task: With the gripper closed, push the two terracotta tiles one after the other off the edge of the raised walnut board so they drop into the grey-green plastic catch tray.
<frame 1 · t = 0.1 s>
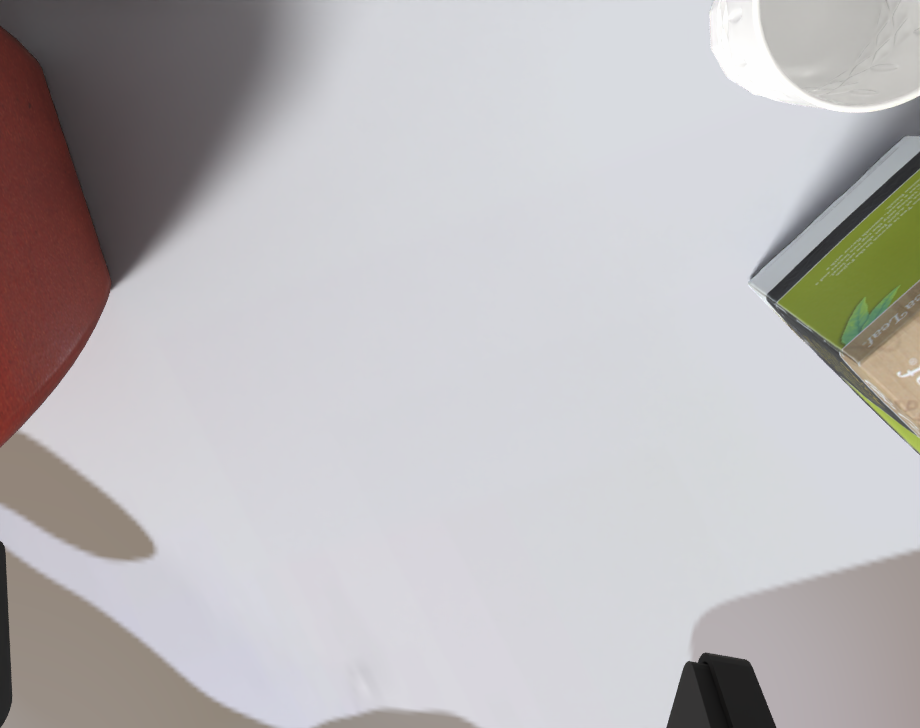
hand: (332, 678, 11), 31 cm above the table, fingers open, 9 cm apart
tea box: (917, 308, 39), on the table
white cup: (782, 19, 36), on the table
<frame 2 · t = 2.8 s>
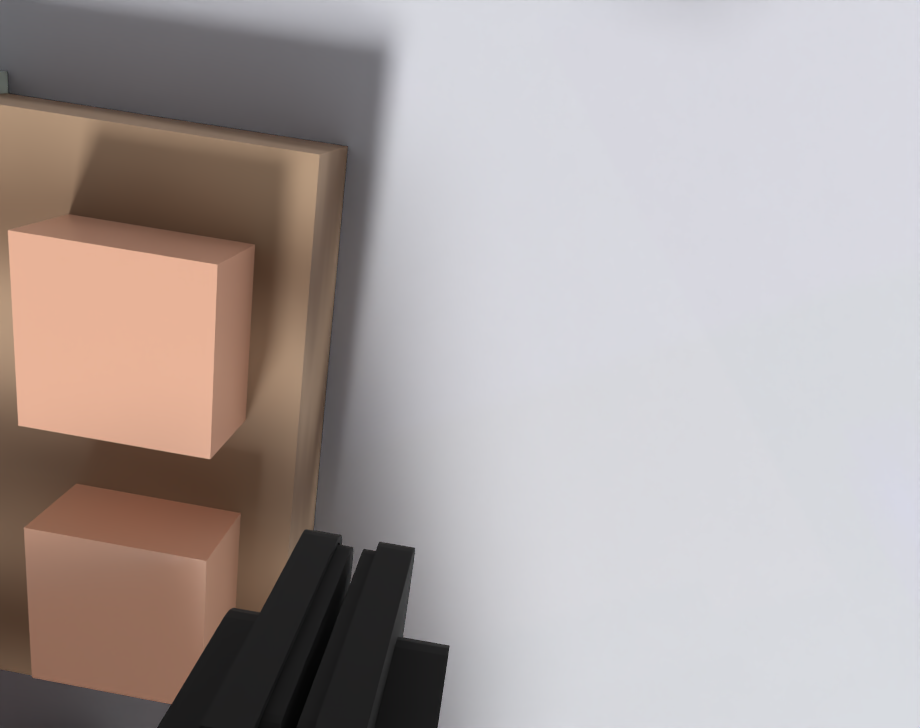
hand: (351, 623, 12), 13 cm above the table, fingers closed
tile b: (157, 569, 24), point 3 cm above the table, touching board
board: (171, 407, 26), on the table
tile a: (160, 320, 21), point 3 cm above the table, touching board
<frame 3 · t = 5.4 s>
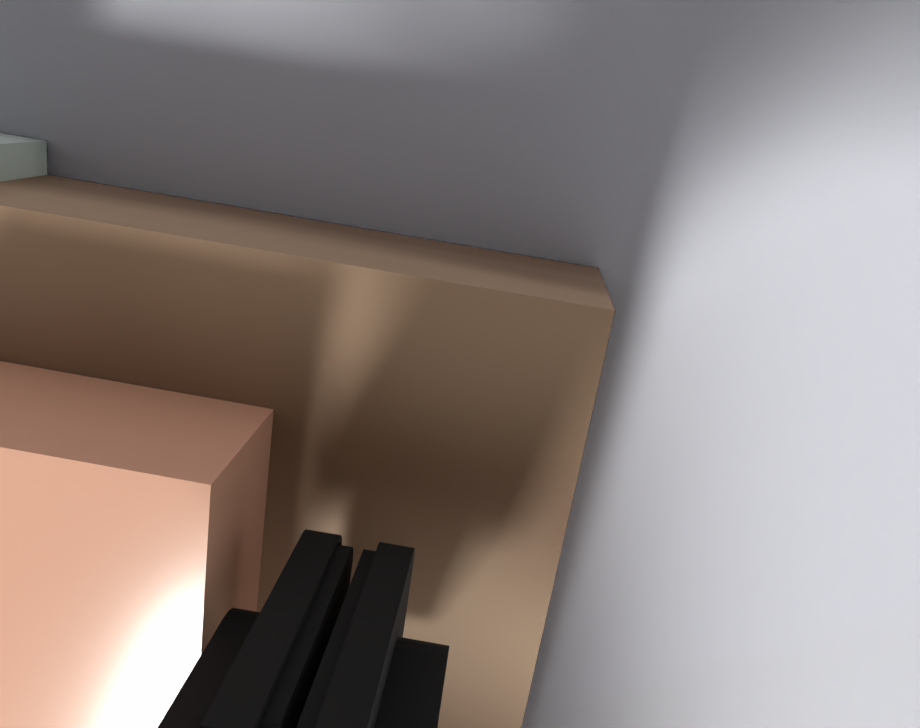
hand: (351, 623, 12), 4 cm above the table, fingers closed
board: (279, 638, 17), on the table
tile a: (111, 523, 13), point 3 cm above the table
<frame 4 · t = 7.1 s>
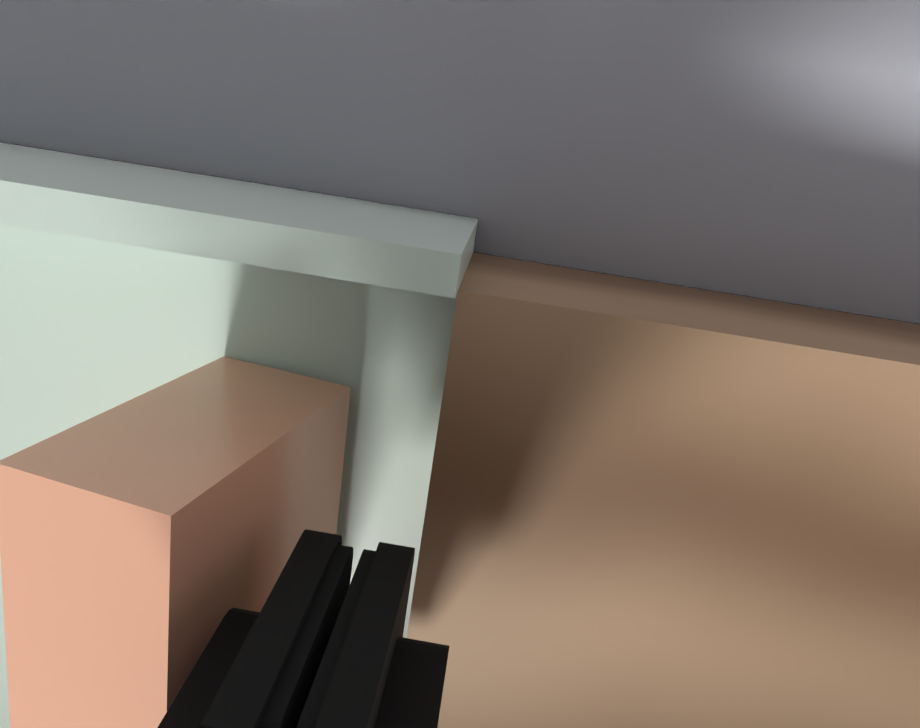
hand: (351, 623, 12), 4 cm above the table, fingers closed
tray: (135, 618, 17), on the table
board: (643, 710, 17), on the table
tile a: (268, 585, 12), point 4 cm above the table, tilted 102°, touching gripper, tray
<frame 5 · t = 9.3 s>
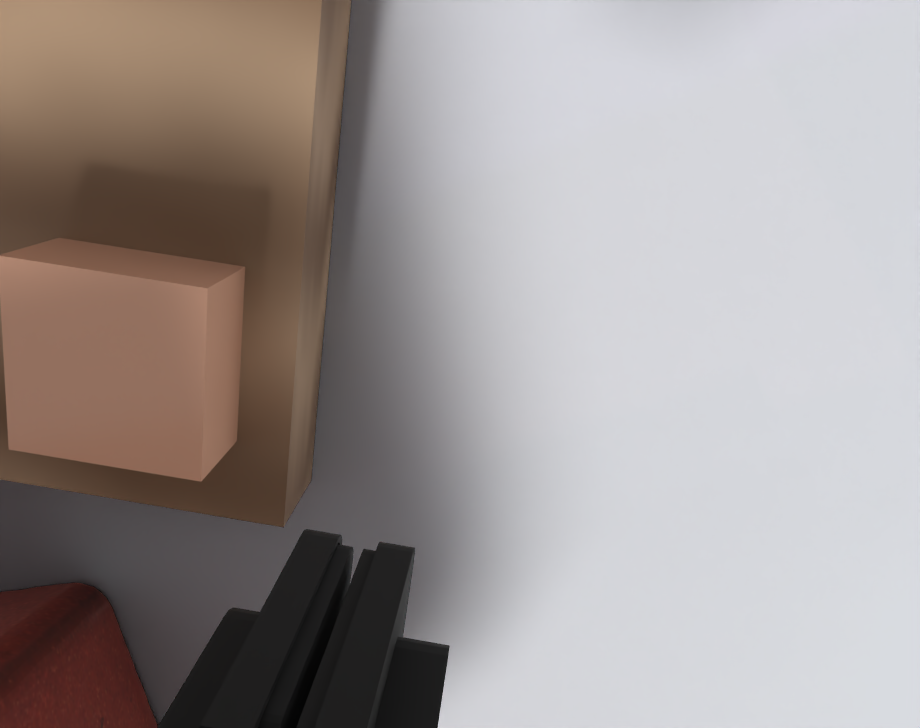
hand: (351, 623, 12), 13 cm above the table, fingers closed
tile b: (150, 342, 21), point 3 cm above the table, touching board
board: (165, 177, 23), on the table
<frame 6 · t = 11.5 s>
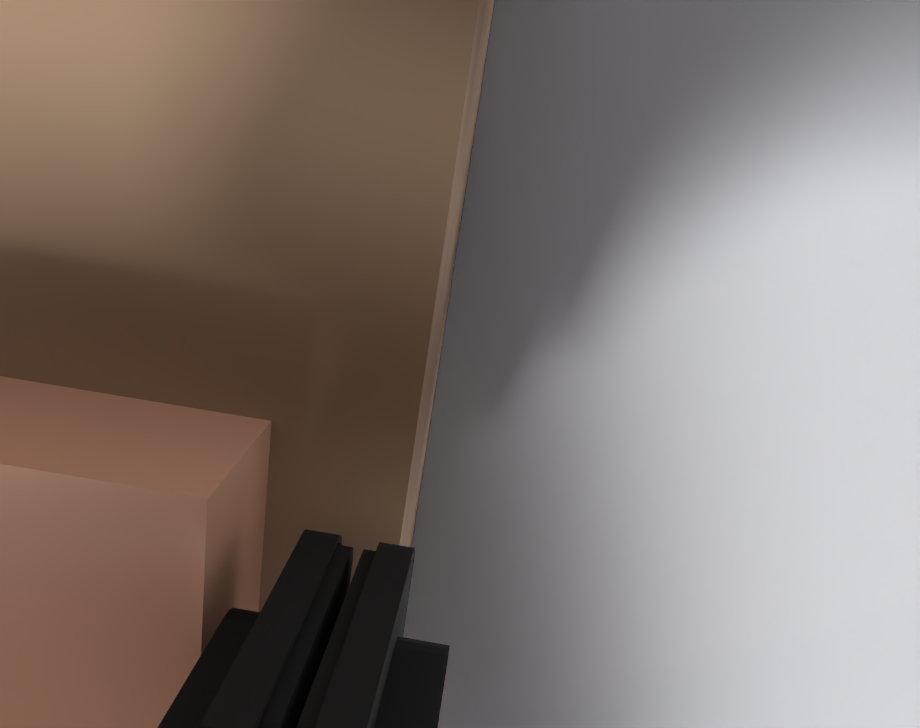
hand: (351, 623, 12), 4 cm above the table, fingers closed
tile b: (111, 536, 13), point 3 cm above the table, touching gripper
board: (178, 255, 14), on the table
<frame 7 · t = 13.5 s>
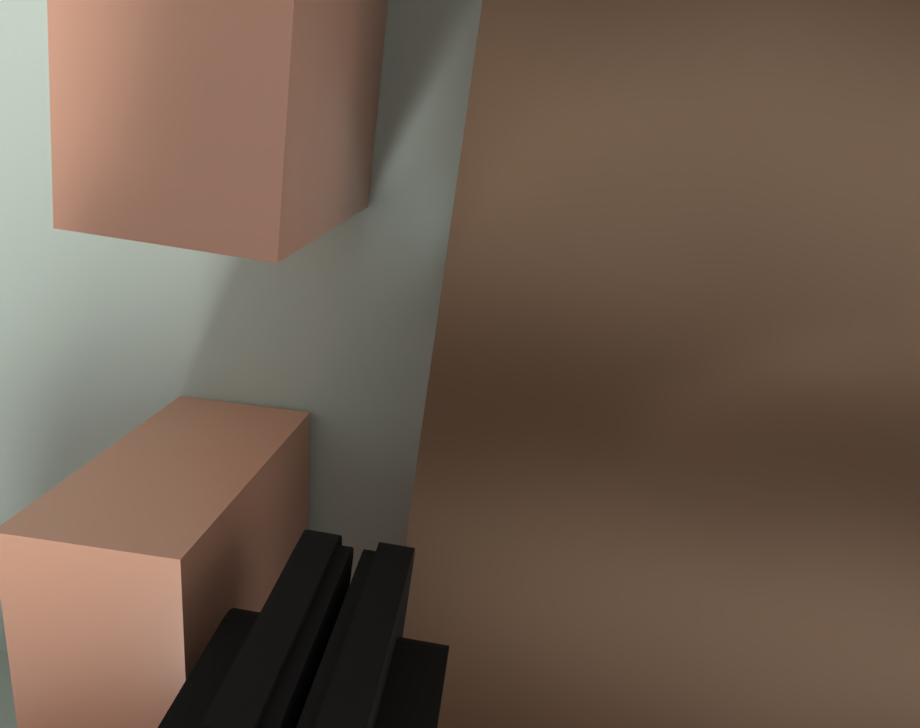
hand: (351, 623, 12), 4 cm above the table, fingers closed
tray: (129, 249, 14), on the table
tile b: (259, 610, 13), point 3 cm above the table, tilted 93°, touching gripper, tray
board: (728, 347, 14), on the table
tile a: (349, 34, 10), point 3 cm above the table, tilted 90°, touching tray
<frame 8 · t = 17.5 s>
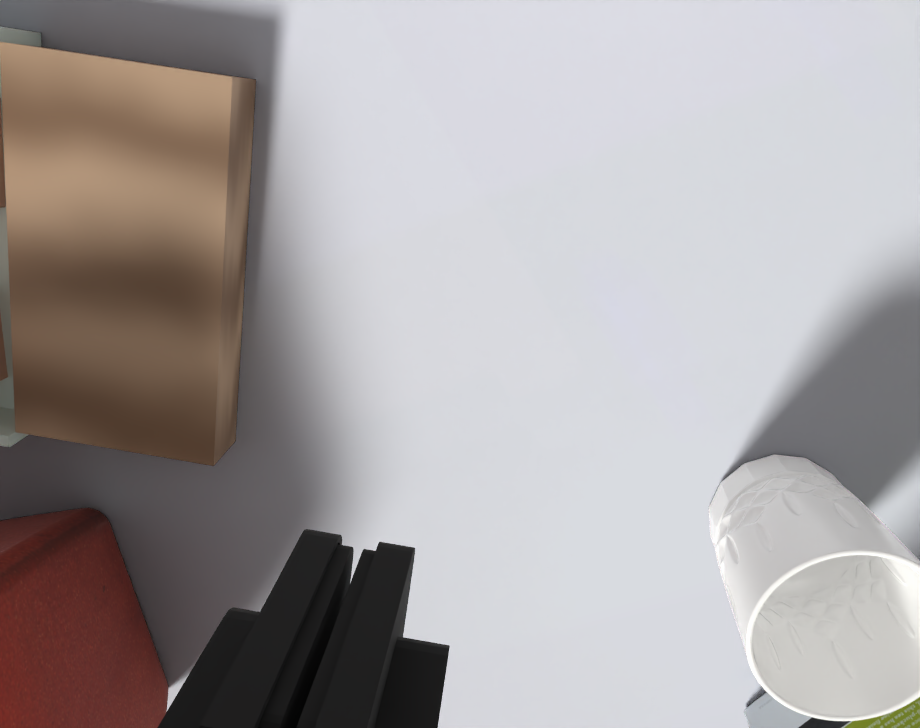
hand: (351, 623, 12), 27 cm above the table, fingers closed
plant pot: (41, 610, 46), on the table
board: (145, 257, 39), on the table
white cup: (774, 511, 40), on the table
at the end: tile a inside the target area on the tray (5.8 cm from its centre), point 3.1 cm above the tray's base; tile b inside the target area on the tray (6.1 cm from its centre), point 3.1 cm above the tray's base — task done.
